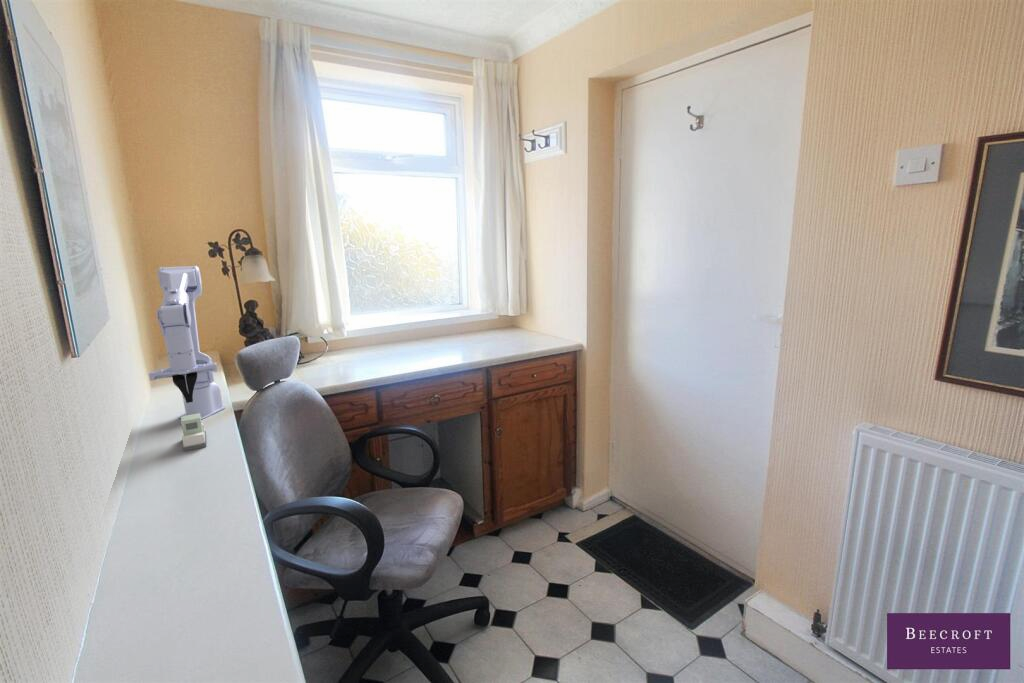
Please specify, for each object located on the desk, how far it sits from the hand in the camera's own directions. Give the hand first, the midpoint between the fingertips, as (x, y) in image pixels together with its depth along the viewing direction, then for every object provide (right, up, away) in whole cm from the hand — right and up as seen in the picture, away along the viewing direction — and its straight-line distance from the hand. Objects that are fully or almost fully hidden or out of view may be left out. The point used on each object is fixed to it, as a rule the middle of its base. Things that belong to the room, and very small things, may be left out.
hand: (189, 401), depth 127 cm
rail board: (+4, -10, -3) cm, 11 cm away
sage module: (+3, -9, -3) cm, 10 cm away
